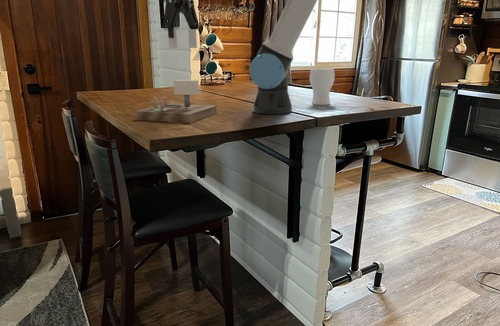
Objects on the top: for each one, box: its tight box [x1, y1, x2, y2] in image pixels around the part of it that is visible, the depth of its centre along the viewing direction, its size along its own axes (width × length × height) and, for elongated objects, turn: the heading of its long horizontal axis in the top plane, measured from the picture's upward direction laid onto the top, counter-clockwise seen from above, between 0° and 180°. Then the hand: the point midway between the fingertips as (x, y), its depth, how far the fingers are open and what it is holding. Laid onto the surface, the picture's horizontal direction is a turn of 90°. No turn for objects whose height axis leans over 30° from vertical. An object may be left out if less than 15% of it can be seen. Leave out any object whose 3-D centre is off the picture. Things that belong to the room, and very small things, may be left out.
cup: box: [309, 67, 336, 106], centre depth 167 cm, size 11×11×15 cm
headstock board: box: [135, 97, 218, 124], centre depth 141 cm, size 22×20×7 cm
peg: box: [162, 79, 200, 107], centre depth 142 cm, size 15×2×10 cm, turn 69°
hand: (183, 48), depth 136 cm, fingers open, 13 cm apart
